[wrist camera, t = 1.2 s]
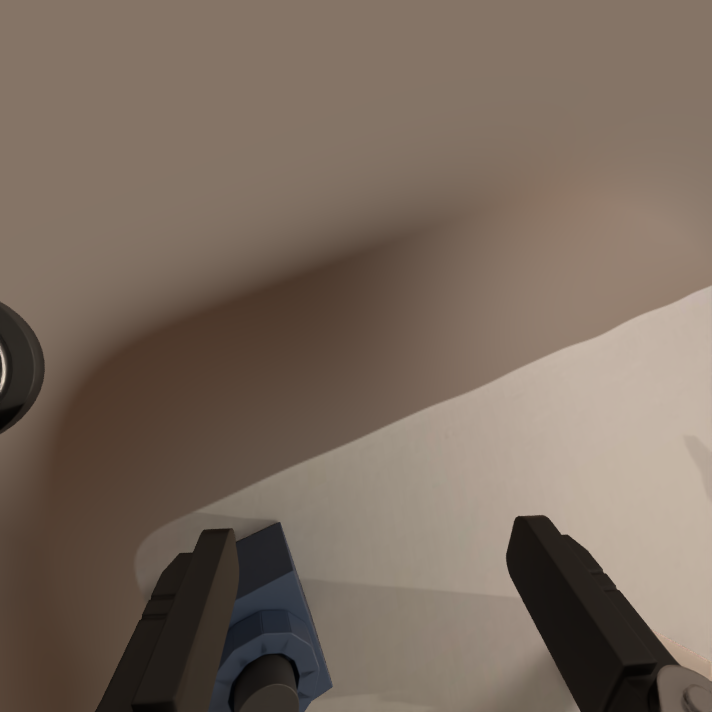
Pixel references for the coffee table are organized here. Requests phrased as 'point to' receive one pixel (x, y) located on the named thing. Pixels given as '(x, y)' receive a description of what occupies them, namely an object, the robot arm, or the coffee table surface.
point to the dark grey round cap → (266, 686)
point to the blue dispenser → (270, 621)
